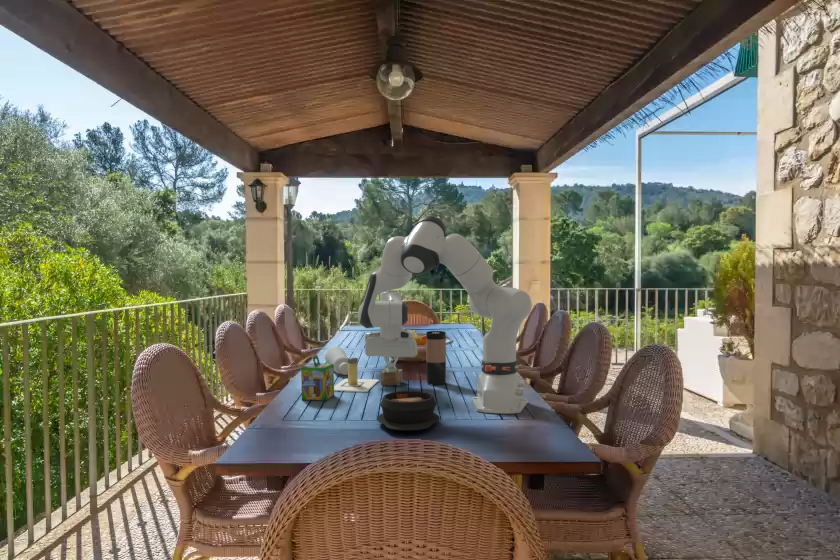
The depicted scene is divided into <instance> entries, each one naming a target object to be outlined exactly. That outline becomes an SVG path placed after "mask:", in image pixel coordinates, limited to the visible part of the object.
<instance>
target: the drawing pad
mask: <svg viewBox="0 0 840 560" xmlns="http://www.w3.org/2000/svg"><path fill="white" fill-rule="evenodd" d="M378 381H379V382H380V379H371V378H364V379H363V378H358V384H357V385H348V378H343V380H341V381H340V382H338V383H337V384H336V385H334V391H340V392H339V393H366V392H367V393H368V392H369V391H371V389H372V388H373V387H374V386H375V385H377V384H378V383H379V382H378ZM377 382H378V383H377ZM343 391H344V392H343Z"/></svg>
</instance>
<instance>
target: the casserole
mask: <svg viewBox="0 0 840 560" xmlns="http://www.w3.org/2000/svg"><path fill="white" fill-rule="evenodd" d="M437 404H438V402H437V400H435V397H434V395H433V394H431V393H429V392H425V391H419V390H398V391H393V392H388V393H386V394H384V395H383V396H382V399H381V401H380V402H379V406H380V407H381V410H382V413H380V414H378V416H377V417H376V420H377V422H379V423H381V424H382V425H384V426H385V427H386V428H387V429H389V430H391V431H392V430H394V431H401V432H403V431H404V432H409V431H410V432H411V431H422V430H427V429H429V428H430V427H432V425H433V424H436V423H437V422H439V420H440V419H441V417H440V416H439V415H438V414H437V413H436V412H435V409H436V406H437Z"/></svg>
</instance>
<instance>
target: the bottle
mask: <svg viewBox="0 0 840 560" xmlns="http://www.w3.org/2000/svg"><path fill="white" fill-rule="evenodd" d="M348 358H349V357H348V355H347V354H346V352H345V351H344V349H342V348H341V347H339V346H338V345H335V346H334V345H333V346H330V347H329V348H328V349H327V350H326V352H325V354H324V359H325V362H326V364H334V373H336V375H339V376H341V375H343V376H344V375H346V376H347V375H348Z"/></svg>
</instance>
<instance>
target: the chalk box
mask: <svg viewBox="0 0 840 560" xmlns="http://www.w3.org/2000/svg"><path fill="white" fill-rule="evenodd" d="M312 361H313V363H312V362H311V363H308V364H305V365H303V366H301V367H300V371H301V374H300V375H301V377H300V378H301V401H325V402H326V401H327V400H329V399H330V398H332V397H334V396H335V392H334V386H335V371H334V364H328V363H323V362H320V359H319V355H317V354H316V355H314V356H312Z"/></svg>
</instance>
